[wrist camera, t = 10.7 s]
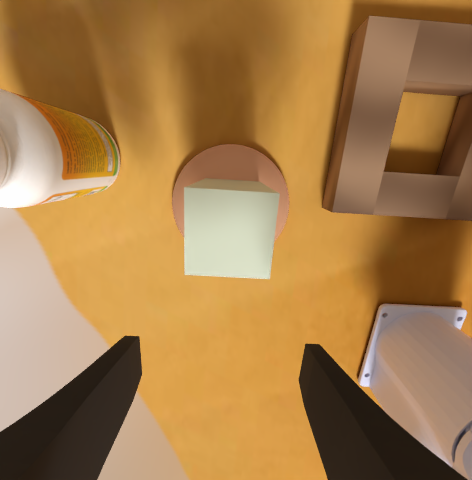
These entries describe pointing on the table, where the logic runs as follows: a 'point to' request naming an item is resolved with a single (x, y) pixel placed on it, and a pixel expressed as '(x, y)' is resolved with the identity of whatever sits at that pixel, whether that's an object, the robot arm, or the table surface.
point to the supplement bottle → (51, 153)
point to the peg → (229, 228)
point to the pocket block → (385, 113)
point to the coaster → (231, 176)
